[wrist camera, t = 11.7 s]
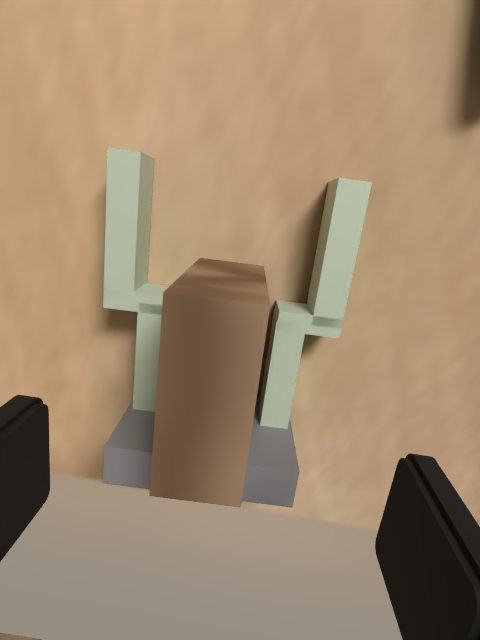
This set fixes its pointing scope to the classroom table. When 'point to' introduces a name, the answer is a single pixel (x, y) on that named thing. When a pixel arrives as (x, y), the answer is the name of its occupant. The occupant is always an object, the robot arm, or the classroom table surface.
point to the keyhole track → (285, 337)
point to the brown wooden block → (208, 381)
